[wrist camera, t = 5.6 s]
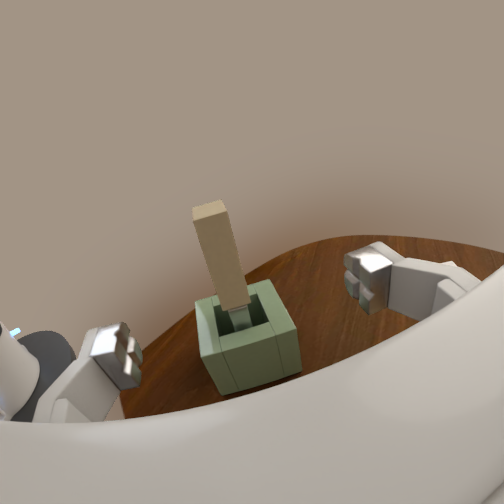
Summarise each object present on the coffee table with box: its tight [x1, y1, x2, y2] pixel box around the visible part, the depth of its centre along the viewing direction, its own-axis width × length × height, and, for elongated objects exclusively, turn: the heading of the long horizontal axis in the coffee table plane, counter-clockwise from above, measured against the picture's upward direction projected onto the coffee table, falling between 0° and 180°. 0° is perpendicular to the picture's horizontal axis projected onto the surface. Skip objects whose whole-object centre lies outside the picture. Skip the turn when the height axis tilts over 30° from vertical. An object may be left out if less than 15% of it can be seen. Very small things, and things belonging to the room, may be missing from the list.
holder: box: [195, 279, 302, 396], centre depth 26 cm, size 8×8×6 cm
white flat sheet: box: [441, 261, 457, 267], centre depth 29 cm, size 8×8×1 cm
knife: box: [192, 200, 253, 332], centre depth 24 cm, size 2×4×16 cm, turn 13°
